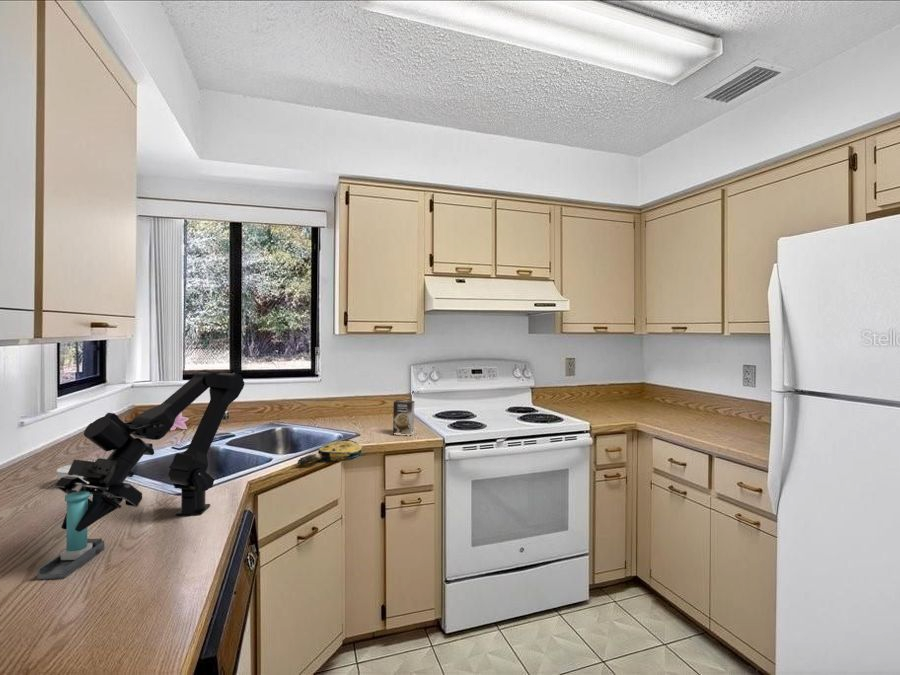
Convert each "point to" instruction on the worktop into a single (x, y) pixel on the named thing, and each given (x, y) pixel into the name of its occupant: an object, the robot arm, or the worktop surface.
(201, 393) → the robot arm
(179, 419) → the lily
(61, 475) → the ramekin
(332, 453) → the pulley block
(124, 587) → the worktop surface
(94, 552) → the track
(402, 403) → the coffee box
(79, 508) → the teal tall cylinder
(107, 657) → the worktop surface
